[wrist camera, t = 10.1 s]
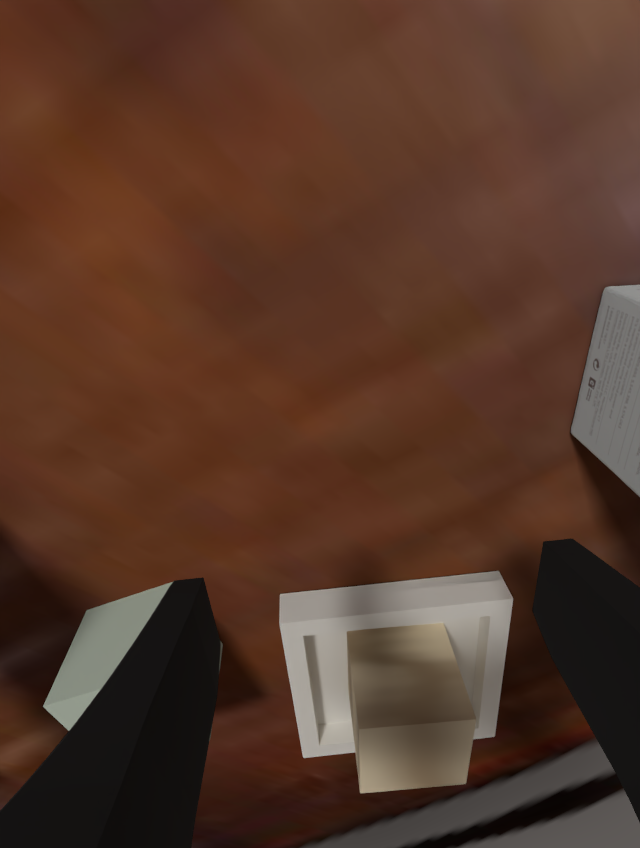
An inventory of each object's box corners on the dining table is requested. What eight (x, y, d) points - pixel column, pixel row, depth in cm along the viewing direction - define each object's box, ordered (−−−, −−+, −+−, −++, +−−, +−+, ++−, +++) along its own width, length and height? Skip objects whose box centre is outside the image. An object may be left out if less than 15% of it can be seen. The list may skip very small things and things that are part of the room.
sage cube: (138, 669, 27) (109, 769, 22) (87, 608, 25) (42, 706, 20) (223, 643, 26) (209, 740, 22) (178, 579, 24) (153, 672, 20)
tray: (302, 726, 30) (303, 757, 28) (279, 594, 25) (279, 623, 23) (483, 706, 30) (494, 736, 28) (498, 570, 25) (513, 598, 23)
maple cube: (348, 692, 28) (360, 793, 23) (346, 630, 25) (359, 729, 21) (437, 685, 28) (465, 783, 23) (443, 622, 25) (476, 719, 21)
